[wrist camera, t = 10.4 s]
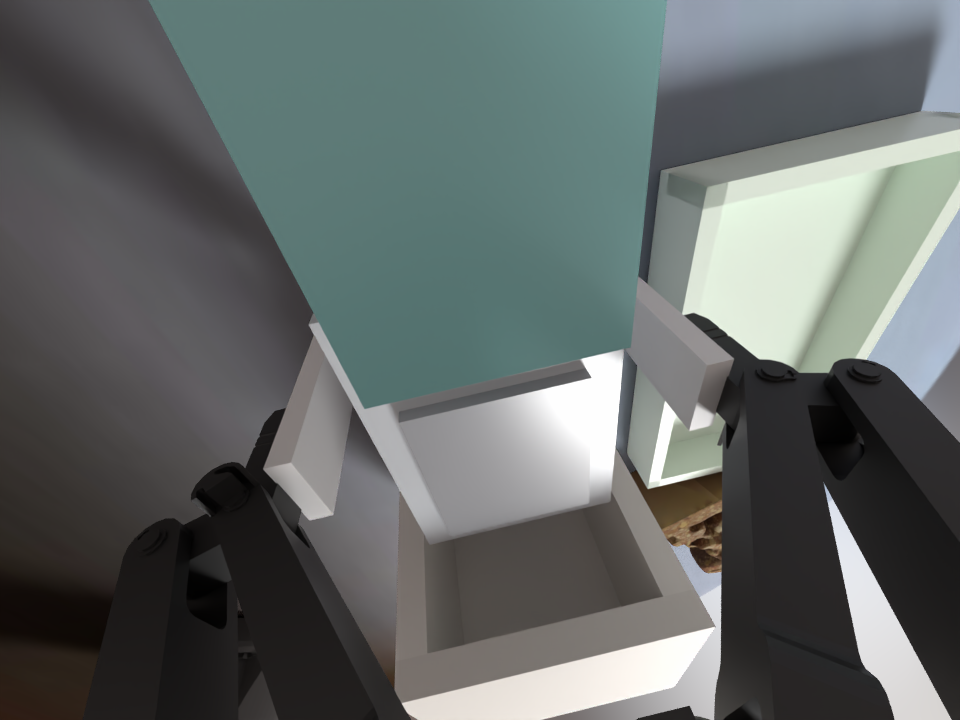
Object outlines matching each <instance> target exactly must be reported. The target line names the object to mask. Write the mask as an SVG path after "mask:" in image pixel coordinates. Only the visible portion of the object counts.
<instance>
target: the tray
mask: <svg viewBox="0 0 960 720" xmlns="http://www.w3.org/2000/svg"><path fill="white" fill-rule="evenodd" d="M959 208H960V113H950V112H934V111H920V112H915V113H911V114H906V115H902V116H898V117H893V118H889V119H884V120H880V121H876V122H871V123H867V124H862V125H858V126H854V127H849V128H845V129H840V130H836V131H832V132H827V133H823V134H819V135H814V136H810V137H805V138H801V139H797V140H792V141H788V142H783V143H779V144H775V145H770V146H766V147H761V148H757V149H753V150H748V151H744V152H739V153H735V154H731V155H726V156H722V157H717V158H713V159H709V160H704V161H700V162H695V163H691V164H687V165H682V166H678V167H673V168H669V169H665V170H661V174H660V182H659V191H658V199H657V207H656V215H655V224H654V232H653V240H652V249H651V257H650V265H649V273H648V282H647V284H648V285H649V286H650V287H651V288H653V289H654V290H655V291H656V292H657V293H658V294H660V295H661V296H662V297H663V298H664V299H665V300H666V301H668V302H669V303H670V304H671V305H672V306H673V307H675V308H676V309H677V310H678V311H679V312H680V313H682V314H683V315H686V314H691V313H696V314H698V315H700V316H703V317H705V318H708V319H709V320H711V321H712V322H713V323H714V324H716V325H717V326H718V327H719V329H722V330H723V331H724V332H726V333H727V334H728V336H731V337H732V338H733V339H734V340H736V341H737V342H738V343H739V344H741V345H742V346H743V347H744V348H746V349H747V350H748V351H749V352H751V353H752V354H753V355H754V356H756V357H757V358H758V359H765V360H774V361H779V362H782V363H784V364H787V365H789V366H791V367H792V368H794V369H795V370H796V371H798V372H799V373H829V371H830V369H831V368H832V366H833V364H834V362H836V361H838V360H841V359H848V358H855V359H864V360H866V359H867V358H868V356H869V354H870V353H871V351H872V349H873V348H874V346H875V345H876V343H877V341H878V340H879V338H880V336H881V335H882V333H883V332H884V330H885V328H886V327H887V325H888V323H889V322H890V320H891V319H892V317H893V315H894V314H895V312H896V310H897V309H898V307H899V306H900V304H901V302H902V301H903V299H904V297H905V296H906V294H907V293H908V291H909V289H910V288H911V286H912V284H913V283H914V281H915V280H916V278H917V276H918V275H919V273H920V271H921V270H922V268H923V267H924V265H925V263H926V262H927V260H928V258H929V257H930V255H931V254H932V252H933V250H934V249H935V247H936V245H937V244H938V242H939V241H940V239H941V237H942V236H943V234H944V232H945V231H946V229H947V228H948V226H949V224H950V223H951V221H952V220H953V218H954V216H955V215H956V213H957V211H958V210H959ZM724 424H725V421H724V420H723V418H722V417H721V416H720V415H719V414H718V413H716V416H715V419H714V422H713V425H712V426H708V427H704V428H700V429H696V430H691V431H689V430H688V429H687V428H686V426H685V425H684V424H683V423H682V421H681V420H680V419H679V418H678V416H677V415H676V414H675V413H674V411H673V410H672V409H671V408H670V406H669V405H668V404H667V402H666V401H665V400H664V399H663V397H662V396H661V395H660V394H659V392H658V391H657V390H656V389H655V387H654V386H653V385H652V384H651V382H650V381H649V380H648V379H647V377H646V376H645V375H644V373H643V372H642V371H641V370H640V368H639V367H638V366H637V373H636V381H635V389H634V398H633V406H632V414H631V423H630V431H629V439H628V447H627V454H628V456H629V458H630V459H631V461H632V463H633V465H634V466H635V468H636V470H637V472H638V473H639V475H640V477H641V478H642V480H643V482H644V484H645V485H646V487H647V489H650V488H654V487H659V486H663V485H667V484H671V483H675V482H680V481H684V480H688V479H692V478H696V477H701V476H705V475H709V474H713V473H717V472H721V471H722V445H721V446H718V445H717V444H718V441H719V438H720V435H721V432H722V430H723V427H724Z"/></svg>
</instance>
